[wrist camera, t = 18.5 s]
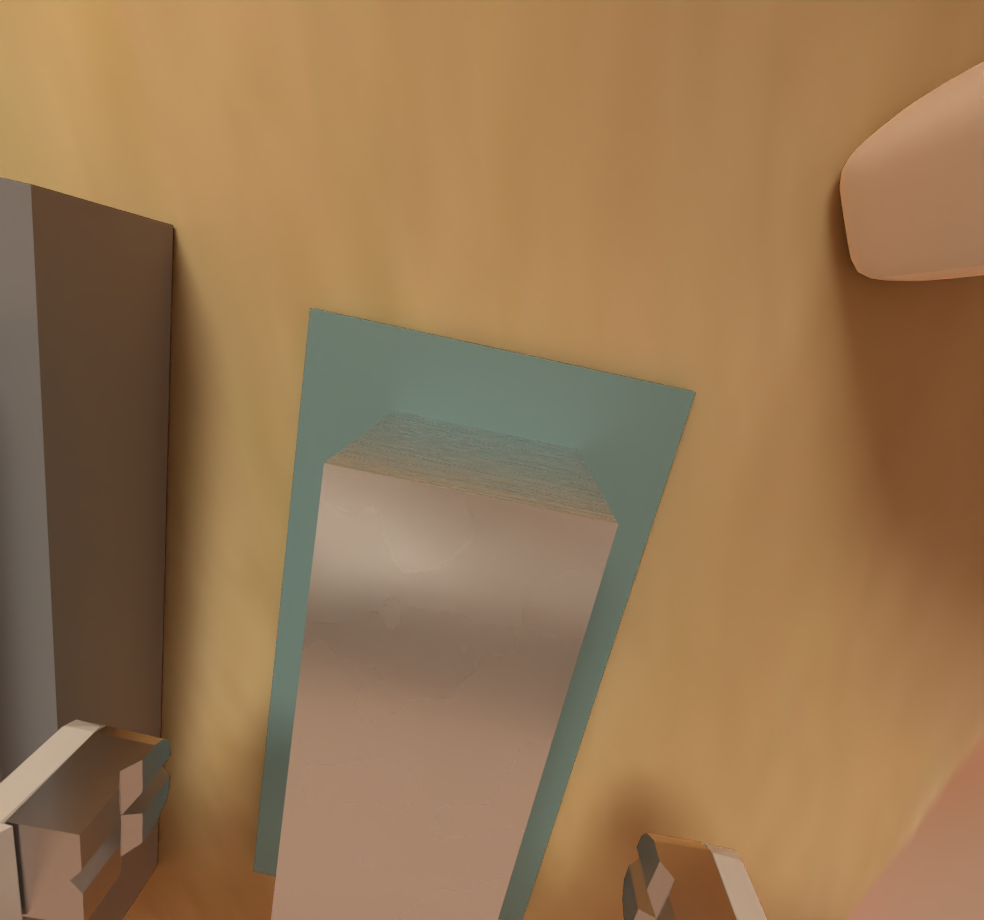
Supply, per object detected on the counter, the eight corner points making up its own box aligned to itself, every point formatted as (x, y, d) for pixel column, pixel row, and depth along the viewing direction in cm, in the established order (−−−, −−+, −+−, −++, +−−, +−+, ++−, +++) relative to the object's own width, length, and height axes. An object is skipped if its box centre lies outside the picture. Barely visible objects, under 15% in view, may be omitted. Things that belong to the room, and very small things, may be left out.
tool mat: (316, 308, 10) (310, 308, 10) (690, 390, 10) (695, 392, 10) (258, 861, 14) (253, 871, 14) (521, 910, 15) (521, 922, 14)
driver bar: (393, 410, 10) (323, 463, 6) (577, 449, 10) (617, 524, 7) (329, 826, 14) (258, 1026, 10) (470, 853, 14) (454, 1061, 10)
